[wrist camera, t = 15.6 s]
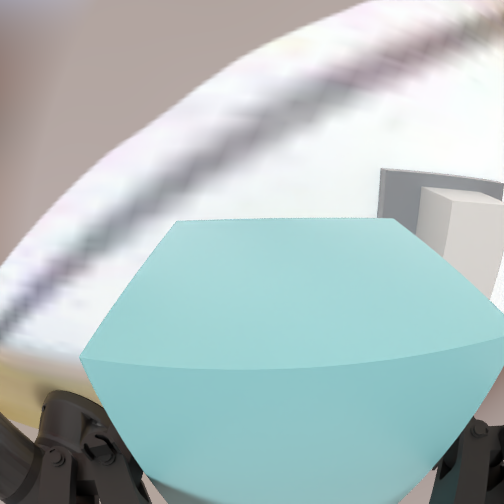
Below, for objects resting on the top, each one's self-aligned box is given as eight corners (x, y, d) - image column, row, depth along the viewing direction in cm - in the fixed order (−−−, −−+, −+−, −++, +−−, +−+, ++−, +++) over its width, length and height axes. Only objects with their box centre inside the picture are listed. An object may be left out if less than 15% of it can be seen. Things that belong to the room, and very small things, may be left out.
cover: (213, 438, 20) (202, 541, 12) (176, 221, 13) (79, 357, 5) (343, 433, 20) (363, 532, 12) (393, 218, 13) (520, 331, 5)
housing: (346, 387, 34) (357, 425, 28) (380, 168, 24) (414, 181, 18) (444, 370, 34) (462, 400, 28) (497, 181, 24) (535, 196, 18)
